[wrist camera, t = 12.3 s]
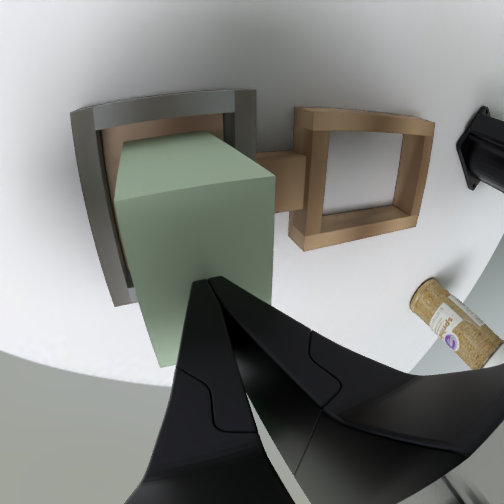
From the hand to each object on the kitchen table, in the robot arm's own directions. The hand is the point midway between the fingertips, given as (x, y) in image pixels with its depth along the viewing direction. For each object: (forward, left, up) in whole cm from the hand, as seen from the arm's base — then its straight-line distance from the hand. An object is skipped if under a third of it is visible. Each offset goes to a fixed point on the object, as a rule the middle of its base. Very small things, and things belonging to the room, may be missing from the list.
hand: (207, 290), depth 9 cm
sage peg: (0, 0, -8) cm, 8 cm away
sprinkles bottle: (-28, -7, -9) cm, 30 cm away
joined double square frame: (-4, -4, -8) cm, 10 cm away
